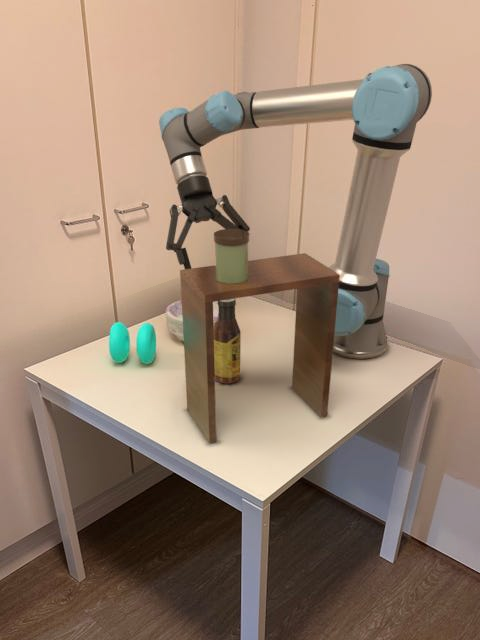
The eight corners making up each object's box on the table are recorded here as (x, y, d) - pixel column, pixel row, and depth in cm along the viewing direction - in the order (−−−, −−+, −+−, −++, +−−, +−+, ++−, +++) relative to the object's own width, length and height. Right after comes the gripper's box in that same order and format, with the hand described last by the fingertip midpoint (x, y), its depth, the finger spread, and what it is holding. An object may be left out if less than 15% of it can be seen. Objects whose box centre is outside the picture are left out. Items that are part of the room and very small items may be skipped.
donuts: (151, 371, 153) (147, 333, 148) (110, 370, 154) (105, 332, 148) (158, 353, 162) (155, 316, 156) (119, 351, 162) (115, 315, 157)
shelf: (297, 386, 147) (305, 253, 130) (327, 416, 136) (339, 274, 119) (187, 410, 138) (179, 270, 121) (209, 443, 127) (204, 294, 110)
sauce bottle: (237, 386, 147) (237, 305, 136) (211, 383, 148) (209, 303, 137) (242, 373, 152) (243, 294, 142) (217, 370, 154) (216, 292, 143)
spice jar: (248, 272, 120) (248, 228, 116) (250, 284, 115) (250, 238, 110) (214, 272, 120) (213, 229, 115) (214, 284, 114) (213, 239, 110)
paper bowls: (209, 353, 162) (208, 324, 157) (157, 342, 167) (154, 314, 162) (232, 330, 173) (232, 302, 169) (183, 321, 178) (182, 294, 174)
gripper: (236, 178, 152) (260, 264, 154) (137, 196, 145) (163, 286, 146) (246, 165, 145) (271, 255, 147) (142, 183, 138) (170, 278, 139)
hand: (218, 271), depth 146 cm, fingers open, 13 cm apart
